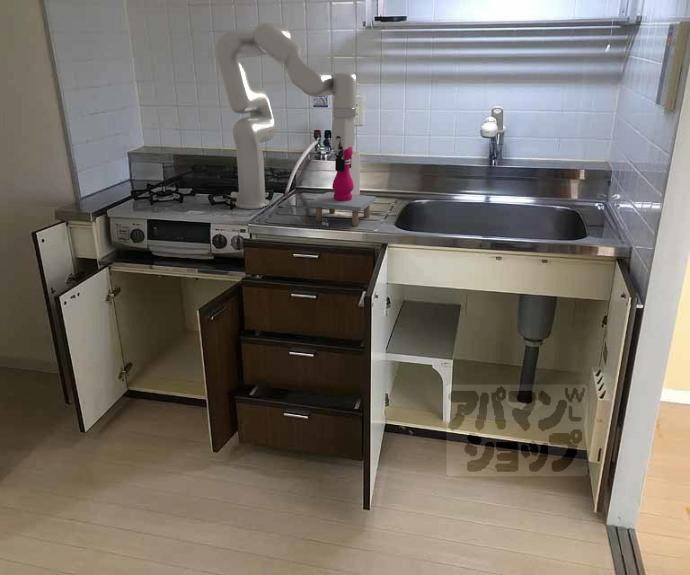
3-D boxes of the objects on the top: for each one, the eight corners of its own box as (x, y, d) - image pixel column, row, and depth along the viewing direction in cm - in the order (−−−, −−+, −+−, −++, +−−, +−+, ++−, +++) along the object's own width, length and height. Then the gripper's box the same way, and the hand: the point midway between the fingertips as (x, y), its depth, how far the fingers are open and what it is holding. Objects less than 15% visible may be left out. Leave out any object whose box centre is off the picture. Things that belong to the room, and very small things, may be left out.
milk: (344, 207, 223) (344, 146, 215) (339, 203, 229) (339, 144, 220) (359, 206, 225) (360, 146, 216) (354, 202, 230) (355, 143, 222)
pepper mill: (351, 202, 201) (352, 141, 194) (330, 200, 202) (330, 140, 195) (355, 197, 208) (356, 138, 200) (334, 195, 209) (335, 137, 201)
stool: (309, 222, 203) (309, 201, 201) (327, 211, 217) (327, 191, 215) (360, 227, 198) (360, 207, 195) (375, 216, 212) (375, 196, 209)
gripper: (342, 110, 203) (342, 164, 210) (323, 115, 188) (323, 173, 195) (363, 111, 201) (362, 166, 207) (345, 116, 186) (344, 175, 193)
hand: (343, 168), depth 201 cm, fingers open, 5 cm apart
